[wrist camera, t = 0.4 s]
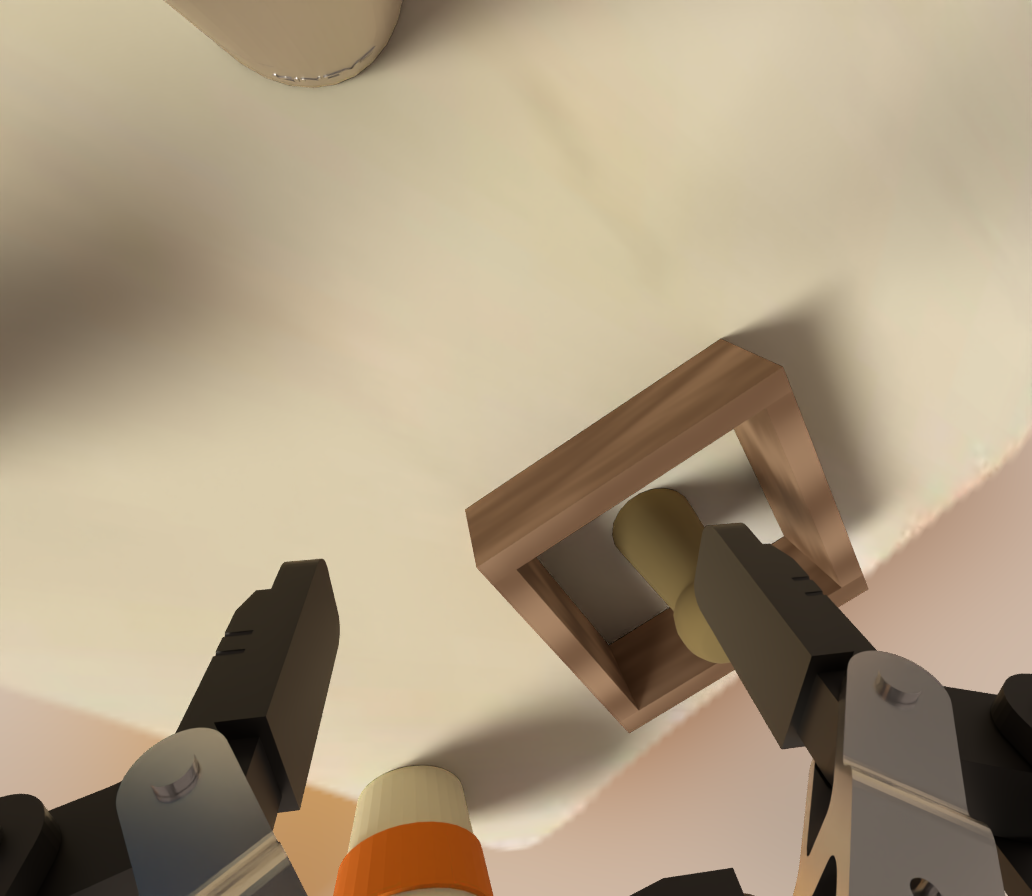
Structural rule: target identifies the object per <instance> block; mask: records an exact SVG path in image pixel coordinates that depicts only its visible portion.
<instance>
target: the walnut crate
mask: <svg viewBox="0 0 1032 896" xmlns="http://www.w3.org/2000/svg"><path fill="white" fill-rule="evenodd" d="M732 429H734V430H735V432H736V435H737V437H738V439H739V441H740V443H741V445H742V447H743V449H744V452H745V454H746V456H747V458H748V460H749V462H750V464H751V466H752V469H753V471H754V473H755V475H756V477H757V479H758V481H759V483H760V486H761V488H762V490H763V492H764V494H765V496H766V498H767V500H768V503H769V505H770V507H771V509H772V511H773V513H774V515H775V517H776V520H777V522H778V524H779V526H780V528H781V530H782V532H783V535H784V537H783V538H781V539H779V540H778V541H776V542H775V543H773V544H771V545H773V546H774V547H776V548H778V549H779V550H781V551H782V552H784V553H786V554H787V555H789V556H790V557H792V558H793V559H794V560H795V561H796V562H797V563H798V564H799V565H800V566H801V568H802V569H803V570H804V571H805V572H806V573H807V574H808V575H809V579H810V580H813V581H814V582H815V583H816V584H817V585H818V586H819V587H820V588H821V590H822V591H823V595H827V596H828V597H829V598H830V599H831V601H832V602H833V603H834V604H835V605H836V606H837V607H840V606H841V605H843V604H844V603H846V602H848V601H850V600H851V599H853V598H855V597H856V596H858V595H860V594H861V593H863V592H865V591H866V590H868V587H867V584H866V581H865V579H864V576H863V574H862V571H861V568H860V566H859V563H858V561H857V558H856V555H855V553H854V550H853V548H852V545H851V542H850V540H849V537H848V535H847V532H846V529H845V527H844V524H843V522H842V519H841V516H840V514H839V511H838V509H837V506H836V503H835V501H834V498H833V496H832V493H831V490H830V488H829V485H828V483H827V480H826V477H825V475H824V472H823V470H822V467H821V464H820V462H819V459H818V457H817V454H816V451H815V449H814V446H813V444H812V441H811V438H810V436H809V433H808V431H807V428H806V425H805V423H804V420H803V418H802V415H801V412H800V410H799V407H798V405H797V402H796V399H795V397H794V394H793V392H792V389H791V386H790V384H789V381H788V379H787V376H786V373H785V371H784V368H783V367H782V366H780V365H778V364H776V363H773V362H771V361H769V360H767V359H764V358H762V357H760V356H758V355H756V354H753V353H751V352H749V351H747V350H745V349H742V348H740V347H738V346H736V345H733V344H731V343H729V342H727V341H725V340H722V339H720V340H718V341H717V342H715V343H714V344H712V345H711V346H709V347H708V348H706V349H705V350H703V351H702V352H700V353H699V354H697V355H696V356H694V357H693V358H691V359H690V360H688V361H687V362H685V363H684V364H682V365H681V366H679V367H678V368H676V369H675V370H673V371H672V372H670V373H669V374H667V375H666V376H664V377H663V378H661V379H660V380H658V381H657V382H655V383H654V384H652V385H651V386H649V387H648V388H647V389H645V390H644V391H642V392H641V393H639V394H638V395H636V396H635V397H633V398H632V399H630V400H629V401H627V402H626V403H624V404H623V405H621V406H620V407H618V408H617V409H615V410H614V411H612V412H611V413H609V414H608V415H606V416H605V417H603V418H602V419H600V420H599V421H597V422H596V423H594V424H593V425H591V426H590V427H588V428H587V429H585V430H584V431H582V432H581V433H579V434H578V435H576V436H575V437H573V438H572V439H570V440H569V441H567V442H566V443H564V444H563V445H561V446H560V447H558V448H557V449H555V450H554V451H552V452H551V453H549V454H548V455H546V456H545V457H543V458H542V459H540V460H539V461H537V462H536V463H534V464H533V465H531V466H530V467H528V468H527V469H525V470H524V471H522V472H521V473H519V474H518V475H516V476H515V477H513V478H512V479H510V480H509V481H507V482H506V483H504V484H503V485H501V486H500V487H498V488H497V489H495V490H494V491H492V492H491V493H489V494H488V495H486V496H485V497H483V498H482V499H480V500H479V501H477V502H476V503H474V504H473V505H471V506H470V507H468V508H467V509H465V512H466V517H467V522H468V527H469V532H470V537H471V542H472V547H473V552H474V557H475V562H476V567H477V569H478V570H479V571H480V572H481V573H482V574H483V575H484V576H485V577H486V578H487V579H488V580H489V582H490V583H491V584H492V585H493V586H494V587H495V588H496V589H497V590H498V591H499V592H500V594H501V595H502V596H503V597H504V598H505V599H506V600H507V601H508V602H509V603H510V604H511V605H512V607H513V608H514V609H515V610H516V611H517V612H518V613H519V614H520V615H521V616H522V617H523V618H524V620H525V621H526V622H527V623H528V624H529V625H530V626H531V627H532V628H533V629H534V630H535V632H536V633H537V634H538V635H539V636H540V637H541V638H542V639H543V640H544V641H545V642H546V643H547V645H548V646H549V647H550V648H551V649H552V650H553V651H554V652H555V653H556V654H557V655H558V656H559V658H560V659H561V660H562V661H563V662H564V663H565V664H566V665H567V666H568V667H569V668H570V670H571V671H572V672H573V673H574V674H575V675H576V676H577V677H578V678H579V679H580V680H581V681H582V683H583V684H584V685H585V686H586V687H587V688H588V689H589V690H590V691H591V692H592V693H593V694H594V696H595V697H596V698H597V699H598V700H599V701H600V702H601V703H602V704H603V705H604V706H605V708H606V709H607V710H608V711H609V712H610V713H611V714H612V715H613V716H614V717H615V718H616V719H617V721H618V722H619V723H620V724H621V725H622V726H623V727H624V728H625V729H626V730H627V731H628V732H629V733H631V732H632V731H634V730H636V729H637V728H639V727H641V726H642V725H644V724H646V723H647V722H649V721H650V720H652V719H654V718H655V717H657V716H659V715H660V714H662V713H664V712H665V711H667V710H669V709H670V708H672V707H674V706H675V705H677V704H679V703H680V702H682V701H684V700H685V699H687V698H689V697H690V696H692V695H694V694H695V693H697V692H699V691H700V690H702V689H704V688H705V687H707V686H709V685H710V684H712V683H714V682H715V681H717V680H719V679H720V678H722V677H724V676H725V675H727V674H728V673H730V672H732V671H733V670H735V669H734V667H733V666H732V664H731V662H730V663H723V664H719V663H712V662H709V661H706V660H704V659H702V658H700V657H698V656H696V655H695V654H693V653H692V652H691V651H690V650H689V649H688V648H687V646H686V645H685V644H684V643H683V641H682V640H681V638H680V636H679V635H678V633H677V629H676V626H675V621H674V616H673V614H674V611H673V610H672V609H671V608H669V609H667V610H665V611H664V612H662V613H660V614H659V615H657V616H656V617H654V618H652V619H651V620H649V621H648V622H646V623H644V624H643V625H641V626H640V627H638V628H636V629H635V630H633V631H632V632H630V633H628V634H627V635H625V636H624V637H622V638H620V639H619V640H617V641H615V642H614V643H612V644H611V645H608V644H607V643H606V641H605V640H604V639H603V638H602V637H601V635H600V634H599V633H598V632H597V631H596V629H595V628H594V627H593V626H592V625H591V623H590V622H589V621H588V620H587V618H586V617H585V616H584V615H583V614H582V612H581V611H580V610H579V609H578V608H577V606H576V605H575V604H574V603H573V602H572V600H571V599H570V598H569V597H568V595H567V594H566V593H565V592H564V591H563V589H562V588H561V587H560V586H559V585H558V583H557V582H556V581H555V580H554V579H553V577H552V576H551V575H550V574H549V573H548V571H547V570H546V569H545V568H544V566H543V565H542V564H541V563H540V562H539V560H538V559H537V558H536V557H537V556H538V555H540V554H541V553H543V552H544V551H546V550H548V549H549V548H551V547H552V546H554V545H555V544H557V543H558V542H560V541H561V540H563V539H564V538H566V537H568V536H569V535H571V534H572V533H574V532H575V531H577V530H578V529H580V528H581V527H583V526H585V525H586V524H588V523H589V522H591V521H592V520H594V519H595V518H597V517H598V516H600V515H601V514H603V513H605V512H606V511H608V510H609V509H611V508H612V507H614V506H615V505H617V504H618V503H620V502H621V501H623V500H625V499H626V498H628V497H629V496H631V495H632V494H634V493H635V492H637V491H638V490H640V489H642V488H643V487H645V486H646V485H648V484H649V483H651V482H652V481H654V480H655V479H657V478H658V477H660V476H662V475H663V474H665V473H666V472H668V471H669V470H671V469H672V468H674V467H675V466H677V465H678V464H680V463H682V462H683V461H685V460H686V459H688V458H689V457H691V456H692V455H694V454H695V453H697V452H698V451H700V450H702V449H703V448H705V447H706V446H708V445H709V444H711V443H712V442H714V441H715V440H717V439H719V438H720V437H722V436H723V435H725V434H726V433H728V432H729V431H731V430H732Z"/></svg>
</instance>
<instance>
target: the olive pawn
mask: <svg viewBox="0 0 1032 896" xmlns="http://www.w3.org/2000/svg"><path fill="white" fill-rule="evenodd" d="M704 528H705V527H704V526H703V524H702V523H701V521H700V520H699V518H698V516H697V515H696V513H695V512H694V510H693V509H692V507H691V505H690V504H689V502H688V501H687V499H686V498H685V497H684V496H683V495H681V494H680V493H679V492H677V491H674V490H670V489H666V488H661V489H651V490H648V491H646V492H643V493H640V494H638V495H637V496H635V497H634V498H632V499H631V500H629V501H628V502H627V503H626V504H625V505H624V507H623V508H622V509H621V510H620V511H619V513H618V515H617V517H616V519H615V521H614V524H613V532H612V536H613V540H614V544H615V545H616V547H617V548H618V549H619V551H620V552H621V553H622V554H623V556H624V557H625V558H626V559H627V560H628V561H629V562H630V563H631V564H632V566H633V567H634V568H635V569H636V570H637V571H638V572H639V573H640V574H641V576H642V577H643V578H644V579H645V580H646V581H647V582H648V583H649V584H650V586H651V587H652V588H653V589H654V590H655V591H656V592H657V593H658V594H659V596H660V597H661V598H662V599H663V600H664V601H665V602H666V603H667V604H668V606H669V607H670V608H671V609H672V610H673V611H674V614H673V616H674V621H675V626H676V629H677V633H678V635H679V636H680V638H681V640H682V641H683V643H684V644H685V645H686V646H687V648H688V649H689V650H690V651H691V652H692V653H693V654H695V655H696V656H698V657H700V658H702V659H704V660H706V661H709V662H712V663H719V664H723V663H730V660H729V659H728V657H727V655H726V654H725V652H724V650H723V648H722V647H721V645H720V643H719V642H718V640H717V638H716V636H715V635H714V633H713V631H712V630H711V628H710V626H709V624H708V623H707V621H706V619H705V618H704V616H703V614H702V613H701V611H700V609H699V607H698V604H697V601H696V597H695V591H694V579H695V573H696V567H697V561H698V555H699V549H700V543H701V537H702V532H703V529H704Z"/></svg>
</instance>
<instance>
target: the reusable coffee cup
mask: <svg viewBox="0 0 1032 896" xmlns="http://www.w3.org/2000/svg"><path fill="white" fill-rule="evenodd" d="M333 896H493V892H492V888H491V884H490V880H489V876H488V871H487V867H486V863H485V859H484V855H483V851H482V847H481V844H480V841H479V840H478V839H477V837H476V836H475V835H474V834H473V831H472V827H471V822H470V818H469V814H468V809H467V805H466V801H465V796H464V792H463V788H462V785H461V782H460V781H459V779H458V778H457V777H456V776H455V775H454V774H452V773H451V772H449V771H447V770H445V769H442V768H438V767H434V766H426V765H422V766H409V767H403V768H399V769H396V770H392V771H390V772H388V773H385V774H383V775H381V776H380V777H378V778H376V779H375V780H373V781H372V782H371V783H370V784H369V785H367V786H366V788H365V789H364V790H363V791H362V793H361V795H360V797H359V799H358V803H357V808H356V813H355V819H354V823H353V829H352V834H351V838H350V844H349V849H348V854H347V855H346V856H345V858H344V859H343V861H342V863H341V865H340V867H339V870H338V875H337V880H336V885H335V890H334V895H333Z"/></svg>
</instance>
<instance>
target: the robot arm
mask: <svg viewBox="0 0 1032 896" xmlns="http://www.w3.org/2000/svg"><path fill="white" fill-rule="evenodd" d="M164 1H165V2H166V3H167V4H169V5H170V6H171V7H172V8H173V9H175V10H176V11H177V12H178V13H180V14H181V15H182V16H183V17H185V18H186V19H187V20H188V21H189V22H191V23H192V24H193V25H194V26H196V27H197V28H198V29H199V30H200V31H201V32H203V33H204V34H205V35H207V36H208V37H209V38H211V39H212V40H213V41H214V42H216V43H217V44H218V45H219V46H220V47H222V48H223V49H224V50H225V51H227V52H228V53H229V54H230V55H232V56H233V57H234V58H235V59H236V60H238V61H239V62H240V63H241V64H243V65H245V66H246V67H248V68H250V69H252V70H253V71H255V72H257V73H259V74H260V75H262V76H264V77H266V78H269V79H272V80H275V81H278V82H281V83H284V84H287V85H290V86H300V87H310V88H315V87H322V86H329V85H335V84H337V83H340V82H342V81H345V80H347V79H349V78H352V77H354V76H356V75H357V74H358V73H360V72H361V71H362V70H363V69H365V68H366V67H367V66H369V65H370V64H371V63H372V62H373V61H374V60H375V59H376V57H377V56H378V55H379V54H380V52H381V51H382V50H383V48H384V47H385V46H386V45H387V43H388V41H389V39H390V36H391V34H392V32H393V30H394V28H395V26H396V24H397V21H398V17H399V13H400V9H401V5H402V0H164ZM694 591H695V597H696V601H697V604H698V607H699V609H700V611H701V613H702V614H703V616H704V618H705V619H706V621H707V623H708V624H709V626H710V628H711V630H712V631H713V633H714V635H715V636H716V638H717V640H718V642H719V643H720V645H721V647H722V648H723V650H724V652H725V654H726V655H727V657H728V659H729V660H730V662H731V664H732V666H733V667H734V669H735V671H736V672H737V674H738V676H739V678H740V679H741V681H742V683H743V684H744V686H745V688H746V690H747V691H748V693H749V695H750V696H751V698H752V700H753V701H754V703H755V705H756V706H757V708H758V710H759V712H760V713H761V715H762V717H763V719H764V720H765V722H766V724H767V725H768V727H769V729H770V730H771V732H772V734H773V736H774V737H775V739H776V741H777V743H778V744H779V746H780V748H781V749H788V748H795V747H803V746H806V748H807V750H808V751H809V753H810V754H811V756H812V757H813V760H812V763H811V765H810V770H809V779H808V787H807V797H806V807H805V816H804V826H803V835H802V845H801V855H800V864H799V870H798V876H797V881H796V886H795V889H794V893H793V896H1005V893H1004V891H1005V892H1006V893H1007V895H1008V896H1032V674H1017V675H1013V676H1011V677H1009V678H1008V679H1007V680H1006V681H1005V683H1004V685H1003V686H1002V688H1001V690H1000V692H999V693H998V695H995V694H988V693H982V692H976V691H970V690H963V689H957V688H950V687H945V686H942V685H941V683H940V682H939V681H938V680H937V679H936V678H935V677H934V676H933V675H931V674H930V673H929V672H927V671H926V670H924V669H923V668H922V667H921V666H919V665H917V664H915V663H914V662H912V661H910V660H908V659H906V658H903V657H901V656H898V655H895V654H891V653H888V652H882V651H877V650H876V649H875V648H874V647H873V646H872V645H871V644H870V642H868V640H867V639H866V638H865V637H864V636H863V635H862V634H861V632H860V631H859V630H858V629H857V628H856V627H855V626H854V625H853V624H852V623H851V621H849V619H848V618H847V617H846V616H845V615H844V614H843V613H842V612H841V610H840V609H839V608H838V607H837V606H836V605H835V604H834V603H833V602H832V601H831V599H830V598H829V597H828V596H827V595H823V591H822V590H821V588H820V587H819V586H818V585H817V584H816V583H815V582H814V581H813V580H810V579H809V575H808V574H807V573H806V572H805V571H804V570H803V569H802V568H801V566H800V565H799V564H798V563H797V562H796V561H795V560H794V559H793V558H792V557H790V556H789V555H787V554H786V553H784V552H782V551H781V550H779V549H778V548H776V547H774V546H773V545H771V544H762V543H761V542H760V541H759V540H758V538H757V537H756V536H755V535H754V534H753V533H752V531H751V530H750V529H749V528H748V527H747V526H746V525H745V524H743V523H729V524H718V525H708V526H706V527H705V528H704V529H703V532H702V537H701V543H700V549H699V555H698V561H697V567H696V573H695V579H694ZM339 635H340V624H339V615H338V611H337V606H336V602H335V598H334V594H333V589H332V585H331V581H330V577H329V572H328V568H327V565H326V562H325V560H324V559H313V560H302V561H291V562H284V563H283V564H282V565H281V567H280V570H279V572H278V574H277V577H276V579H275V581H274V584H273V586H272V588H271V589H267V590H256V591H255V592H254V593H253V594H252V595H251V596H250V597H249V598H248V599H247V600H246V601H245V602H244V603H243V604H242V605H241V606H240V607H239V608H238V609H237V610H236V611H235V613H234V615H233V617H232V619H231V621H230V624H229V626H228V628H227V630H226V632H225V637H223V638H222V640H221V642H220V644H219V646H218V648H217V650H216V656H213V658H212V660H211V662H210V664H209V666H208V668H207V670H206V672H205V674H204V676H203V678H202V681H201V683H200V685H199V687H198V689H197V691H196V693H195V695H194V697H193V699H192V701H191V703H190V705H189V707H188V709H187V711H186V713H185V715H184V717H183V719H182V721H181V723H180V725H179V727H178V729H177V731H176V733H175V734H173V735H171V736H169V737H167V738H165V739H163V740H162V741H160V742H158V743H157V744H156V745H154V746H153V747H151V748H150V749H149V750H148V751H146V752H145V753H144V754H143V755H142V756H141V757H140V758H139V759H138V760H137V761H136V762H135V763H134V764H133V765H132V767H131V768H130V769H129V771H128V772H127V773H126V775H125V776H124V778H123V780H122V781H121V782H119V783H117V784H115V785H112V786H110V787H108V788H105V789H103V790H101V791H98V792H95V793H93V794H90V795H88V796H85V797H83V798H80V799H77V800H75V801H72V802H70V803H67V804H65V805H63V806H60V807H57V808H55V809H52V810H50V811H48V810H47V809H46V808H45V806H44V805H43V803H42V802H41V801H40V800H39V799H38V798H36V797H34V796H32V795H28V794H13V795H8V796H4V797H0V896H307V894H306V892H305V890H304V888H303V886H302V884H301V882H300V880H299V878H298V876H297V874H296V872H295V870H294V868H293V867H292V864H291V862H290V861H289V858H288V856H287V854H286V852H285V851H284V849H283V847H282V845H281V843H280V842H278V841H277V839H276V837H275V835H274V833H273V828H274V824H275V820H276V817H277V813H280V812H288V811H295V810H300V807H301V802H302V798H303V794H304V789H305V786H306V781H307V777H308V773H309V769H310V764H311V760H312V756H313V752H314V747H315V743H316V739H317V735H318V730H319V726H320V722H321V718H322V713H323V709H324V705H325V701H326V696H327V692H328V688H329V683H330V679H331V675H332V671H333V666H334V662H335V658H336V654H337V649H338V645H339ZM630 896H754V895H751V894H744V893H743V891H742V889H741V886H740V884H739V881H738V879H737V877H736V874H735V872H734V869H733V868H728V869H722V870H715V871H708V872H702V873H695V874H689V875H682V876H675V877H669V878H663V879H661V880H659V881H657V882H655V883H653V884H651V885H649V886H648V887H646V888H644V889H642V890H640V891H638V892H636V893H634V894H632V895H630Z"/></svg>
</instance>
